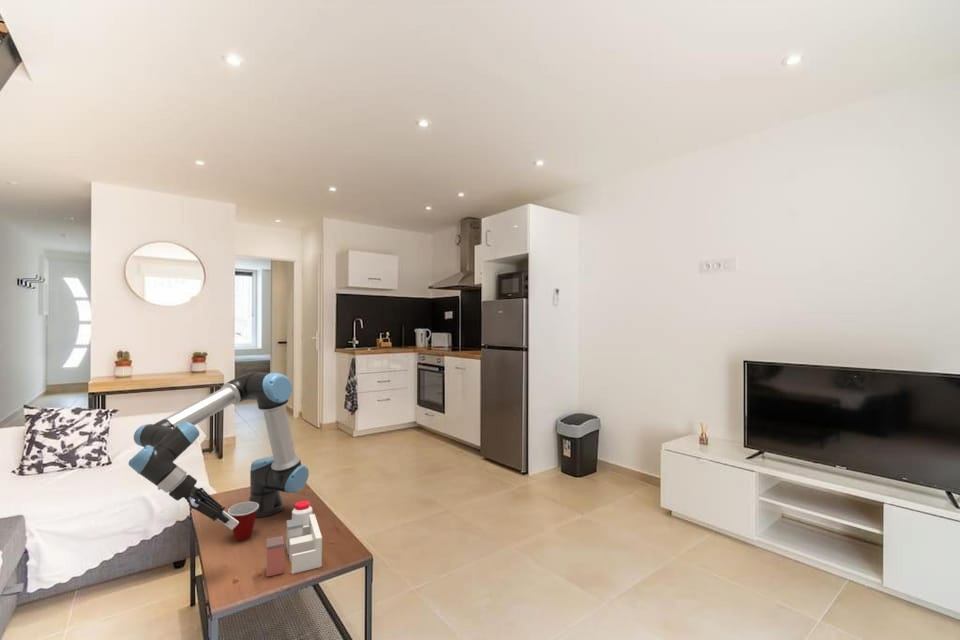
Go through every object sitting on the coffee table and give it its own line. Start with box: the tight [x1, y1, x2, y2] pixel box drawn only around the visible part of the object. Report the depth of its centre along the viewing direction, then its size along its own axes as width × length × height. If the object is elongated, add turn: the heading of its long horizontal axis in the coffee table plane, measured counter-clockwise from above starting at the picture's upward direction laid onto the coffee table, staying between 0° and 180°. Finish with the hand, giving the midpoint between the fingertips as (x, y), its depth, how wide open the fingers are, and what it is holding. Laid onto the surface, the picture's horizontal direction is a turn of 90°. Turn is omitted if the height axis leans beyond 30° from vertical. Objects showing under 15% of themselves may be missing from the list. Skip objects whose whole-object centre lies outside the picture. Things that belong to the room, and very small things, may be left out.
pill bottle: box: [291, 500, 313, 526], centre depth 174 cm, size 8×8×11 cm
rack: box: [288, 513, 323, 575], centre depth 155 cm, size 21×10×10 cm, turn 28°
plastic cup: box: [227, 501, 259, 542], centre depth 168 cm, size 11×11×12 cm
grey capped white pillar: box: [285, 518, 303, 555], centre depth 159 cm, size 6×5×10 cm
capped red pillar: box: [265, 535, 285, 578], centre depth 146 cm, size 6×5×10 cm
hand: (235, 525), depth 146 cm, fingers closed
